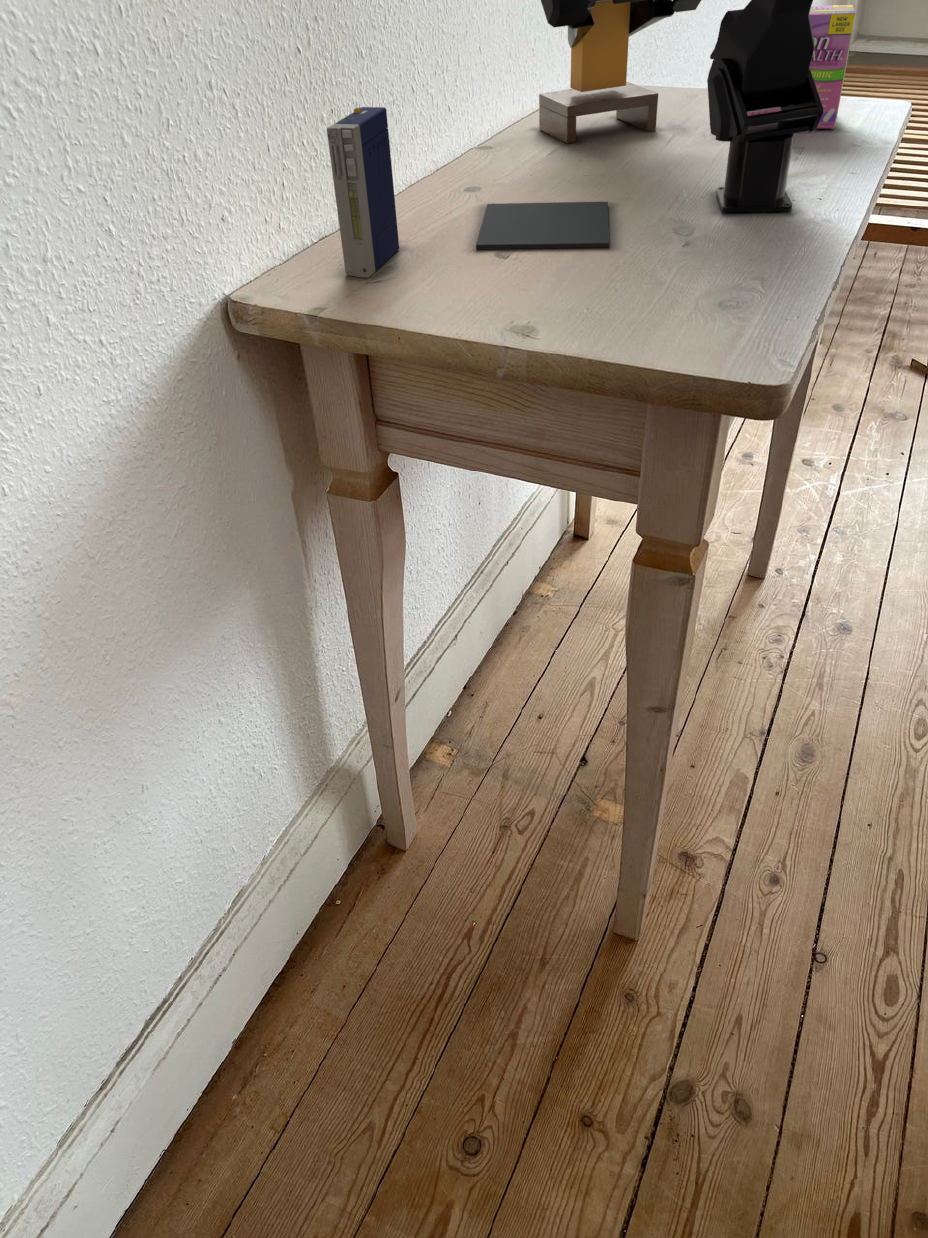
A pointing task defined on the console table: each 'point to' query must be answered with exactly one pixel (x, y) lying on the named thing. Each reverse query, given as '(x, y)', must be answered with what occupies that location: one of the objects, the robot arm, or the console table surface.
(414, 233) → the console table surface
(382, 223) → the cassette player
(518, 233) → the mat
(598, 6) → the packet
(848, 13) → the box
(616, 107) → the shelf
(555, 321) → the console table surface
